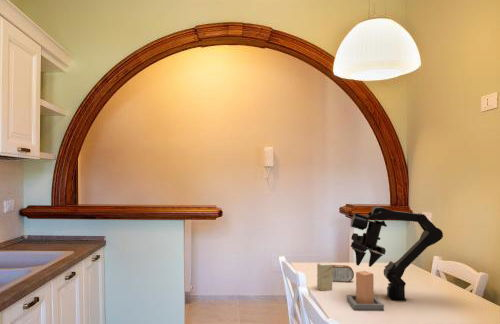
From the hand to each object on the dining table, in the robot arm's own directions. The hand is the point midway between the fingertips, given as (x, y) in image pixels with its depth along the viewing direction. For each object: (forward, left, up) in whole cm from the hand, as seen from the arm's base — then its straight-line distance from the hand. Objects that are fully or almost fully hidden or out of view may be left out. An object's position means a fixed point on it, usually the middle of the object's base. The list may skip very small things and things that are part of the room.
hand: (363, 265), depth 161 cm
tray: (+3, +11, -14) cm, 18 cm away
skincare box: (+16, -10, -14) cm, 24 cm away
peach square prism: (+3, +11, -13) cm, 17 cm away
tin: (+6, -23, -14) cm, 28 cm away
